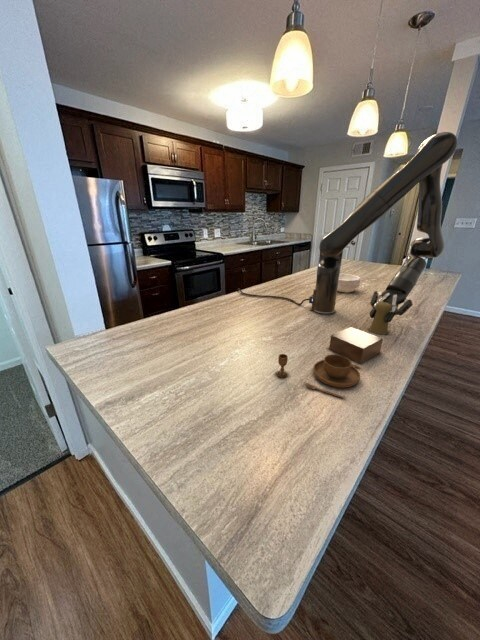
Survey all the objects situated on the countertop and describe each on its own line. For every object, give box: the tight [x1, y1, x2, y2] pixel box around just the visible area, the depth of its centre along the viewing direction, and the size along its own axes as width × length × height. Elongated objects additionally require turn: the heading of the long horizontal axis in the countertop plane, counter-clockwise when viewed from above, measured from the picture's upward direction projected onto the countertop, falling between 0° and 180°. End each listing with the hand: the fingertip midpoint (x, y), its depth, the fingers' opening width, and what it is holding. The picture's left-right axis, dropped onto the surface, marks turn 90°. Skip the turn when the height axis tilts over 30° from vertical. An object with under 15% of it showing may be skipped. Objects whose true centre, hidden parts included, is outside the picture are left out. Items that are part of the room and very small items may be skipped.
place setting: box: [276, 353, 361, 399], centre depth 72 cm, size 18×20×6 cm
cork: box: [369, 302, 392, 335], centre depth 96 cm, size 6×6×11 cm
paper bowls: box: [337, 273, 361, 293], centre depth 147 cm, size 15×15×8 cm
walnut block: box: [328, 326, 384, 364], centre depth 83 cm, size 11×11×5 cm
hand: (378, 319), depth 95 cm, fingers closed on cork, 5 cm apart
